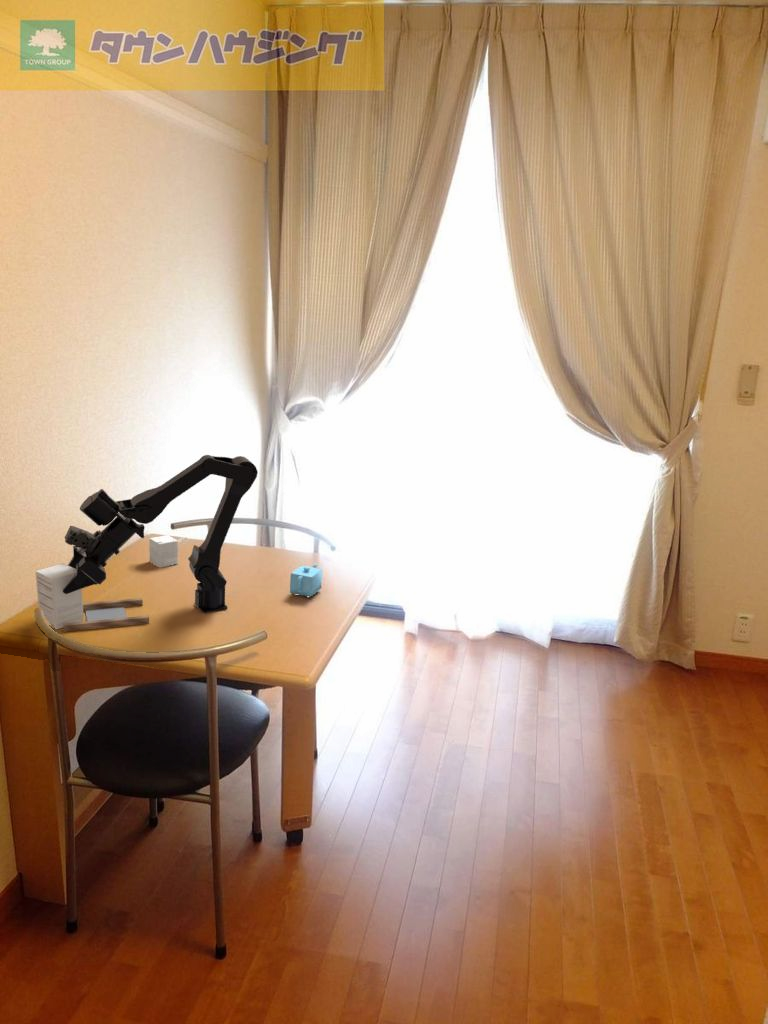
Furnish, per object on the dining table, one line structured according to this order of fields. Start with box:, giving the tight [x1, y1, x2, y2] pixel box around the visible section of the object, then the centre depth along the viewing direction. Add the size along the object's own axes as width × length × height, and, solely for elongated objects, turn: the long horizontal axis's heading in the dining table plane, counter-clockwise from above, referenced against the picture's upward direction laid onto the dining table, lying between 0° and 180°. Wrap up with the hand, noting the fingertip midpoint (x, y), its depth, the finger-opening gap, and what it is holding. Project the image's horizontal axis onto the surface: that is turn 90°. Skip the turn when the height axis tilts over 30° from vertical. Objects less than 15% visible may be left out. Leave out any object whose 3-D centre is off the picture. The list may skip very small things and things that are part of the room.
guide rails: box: [62, 597, 150, 633], centre depth 194 cm, size 19×12×2 cm, turn 114°
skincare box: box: [148, 534, 179, 569], centre depth 231 cm, size 6×6×7 cm
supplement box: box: [35, 563, 85, 631], centre depth 188 cm, size 7×7×13 cm
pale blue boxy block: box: [289, 562, 323, 597], centre depth 218 cm, size 12×6×8 cm, turn 162°
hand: (63, 585), depth 188 cm, fingers open, 9 cm apart
